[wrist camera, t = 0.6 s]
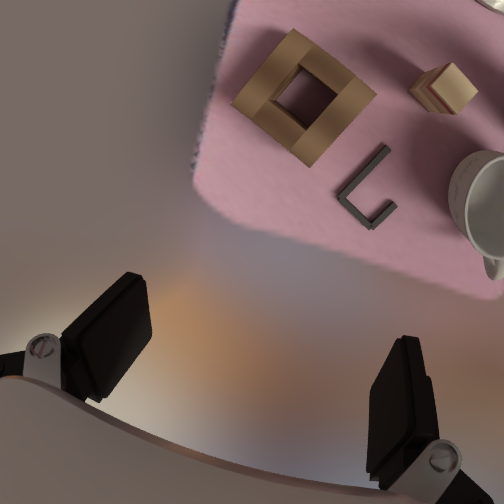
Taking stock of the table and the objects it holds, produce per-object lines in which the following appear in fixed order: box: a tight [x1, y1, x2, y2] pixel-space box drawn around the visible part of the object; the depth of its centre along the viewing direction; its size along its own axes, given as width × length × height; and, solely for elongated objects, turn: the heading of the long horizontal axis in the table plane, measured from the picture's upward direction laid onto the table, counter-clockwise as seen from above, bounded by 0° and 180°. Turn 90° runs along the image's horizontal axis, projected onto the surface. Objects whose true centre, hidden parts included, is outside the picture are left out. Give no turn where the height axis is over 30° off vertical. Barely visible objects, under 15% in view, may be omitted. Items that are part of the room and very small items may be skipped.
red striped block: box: [408, 63, 478, 115], centre depth 23 cm, size 3×3×9 cm
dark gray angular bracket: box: [338, 145, 397, 230], centre depth 33 cm, size 8×6×1 cm
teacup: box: [448, 150, 504, 281], centre depth 26 cm, size 14×11×8 cm
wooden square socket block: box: [231, 28, 377, 168], centre depth 29 cm, size 10×10×4 cm
